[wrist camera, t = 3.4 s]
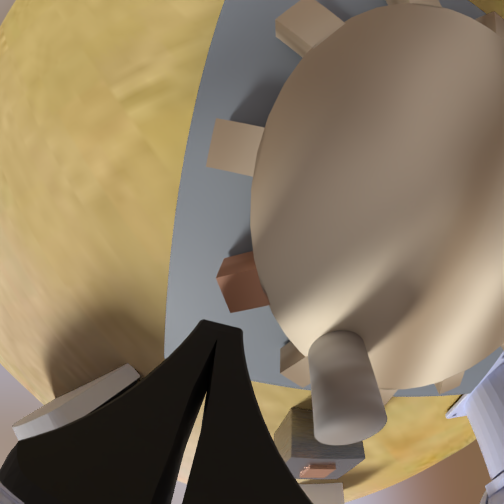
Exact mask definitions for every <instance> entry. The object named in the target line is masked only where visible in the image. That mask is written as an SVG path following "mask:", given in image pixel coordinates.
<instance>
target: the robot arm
mask: <svg viewBox="0 0 504 504" xmlns="http://www.w3.org/2000/svg"><path fill="white" fill-rule="evenodd" d="M206 391H207V392H206ZM205 394H206V399H205V406H204V413H203V420H202V427H201V433H200V437H199V441H198V444H197V448H196V452H195V456H194V460H193V464H192V468H191V471H190V475H189V479H188V483H187V487H186V491H185V495H184V498H183V502H182V504H313V503H312V502H311V500H310V499H309V498H308V496H307V495H306V494H305V492H304V491H303V490H302V488H301V487H300V485H299V484H298V483H297V481H296V479H295V478H294V476H293V475H292V473H291V471H290V470H289V468H288V467H287V465H286V463H285V462H284V460H283V458H282V457H281V455H280V453H279V451H278V449H277V447H276V445H275V443H274V441H273V439H272V437H271V435H270V433H269V431H268V428H267V426H266V424H265V422H264V419H263V417H262V414H261V411H260V409H259V406H258V403H257V400H256V397H255V394H254V391H253V387H252V384H251V380H250V376H249V372H248V368H247V363H246V357H245V351H244V343H243V331H242V329H241V328H238V327H233V326H229V325H225V324H221V323H217V322H213V321H209V320H205V319H202V320H200V321H199V323H198V324H197V325H196V327H195V328H194V329H193V331H192V332H191V333H190V334H189V335H188V337H187V338H186V339H185V340H184V341H183V342H182V343H181V344H180V345H179V346H178V347H177V348H176V349H175V350H174V351H173V352H172V353H171V354H170V355H169V356H168V357H167V358H166V359H165V360H164V361H163V362H162V363H161V364H160V365H159V366H158V367H156V368H155V369H154V370H153V371H152V372H151V373H149V374H148V375H147V376H146V377H145V378H143V379H142V380H141V381H140V382H138V383H137V384H136V385H134V386H133V387H132V388H130V389H129V390H127V391H126V392H124V393H123V394H122V395H120V396H119V397H117V398H115V399H114V400H112V401H111V402H109V403H107V404H106V405H104V406H102V407H101V408H99V409H97V410H95V411H93V412H92V413H90V414H88V415H86V416H83V417H81V418H79V419H77V420H75V421H73V422H71V423H68V424H66V425H64V426H62V427H59V428H57V429H54V430H51V431H48V432H45V433H42V434H39V435H36V436H32V437H29V438H26V439H22V440H20V441H18V443H17V444H16V446H15V447H14V448H13V449H12V450H11V452H10V453H9V455H8V456H7V458H6V460H5V462H4V464H3V465H2V467H1V469H0V504H171V500H172V497H173V493H174V489H175V485H176V481H177V477H178V473H179V469H180V465H181V461H182V458H183V454H184V451H185V448H186V444H187V442H188V439H189V436H190V434H191V431H192V428H193V426H194V423H195V421H196V418H197V415H198V413H199V410H200V407H201V405H202V402H203V399H204V397H205ZM466 415H467V417H468V419H469V422H470V424H471V426H472V429H473V431H474V433H475V436H476V438H477V441H478V443H479V446H480V449H481V451H482V454H483V457H484V459H485V463H486V465H487V468H488V471H489V475H490V478H491V480H493V481H491V482H490V483H488V484H487V485H486V486H485V487H486V492H485V493H484V495H483V496H482V499H481V502H480V504H504V351H503V352H502V354H501V355H500V357H499V358H498V359H497V361H496V362H495V364H494V365H493V366H492V368H491V369H490V370H489V371H488V373H487V374H486V375H485V377H484V378H483V379H482V380H481V381H480V383H479V384H478V385H477V386H476V387H475V389H474V390H473V391H472V392H471V393H470V394H464V395H463V396H462V397H461V398H460V399H459V400H458V401H457V402H456V403H455V404H454V406H453V407H452V408H451V409H450V410H449V411H448V412H447V413H446V415H445V416H446V418H454V417H461V416H466Z"/></svg>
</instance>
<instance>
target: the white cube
mask: <svg viewBox="0 0 504 504" xmlns="http://www.w3.org/2000/svg"><path fill="white" fill-rule="evenodd" d="M299 485H300V487H301V488H302V490H303V491H304V492H305V494H306V495H307V496H308V498H309V499H310V500H311V502H312V503H313V504H344V493H343V482H342V483H327V484H299Z"/></svg>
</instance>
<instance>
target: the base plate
mask: <svg viewBox="0 0 504 504" xmlns="http://www.w3.org/2000/svg"><path fill="white" fill-rule="evenodd" d="M299 1H300V0H225V1H224V4H223V7H222V10H221V13H220V16H219V19H218V22H217V25H216V28H215V32H214V35H213V38H212V42H211V45H210V48H209V52H208V56H207V59H206V63H205V67H204V70H203V74H202V78H201V82H200V86H199V90H198V94H197V99H196V103H195V107H194V112H193V117H192V121H191V126H190V131H189V136H188V141H187V146H186V151H185V157H184V162H183V168H182V174H181V180H180V186H179V193H178V200H177V207H176V214H175V221H174V229H173V238H172V247H171V256H170V266H169V277H168V290H167V304H166V321H165V346H164V358H165V359H166V358H167V357H168V356H169V355H170V354H171V353H172V352H173V351H174V350H175V349H176V348H177V347H178V346H179V345H180V344H181V343H182V342H183V341H184V340H185V339H186V338H187V337H188V335H189V334H190V333H191V332H192V331H193V329H194V328H195V327H196V325H197V324H198V323H199V321H200V320H202V319H205V320H209V321H213V322H217V323H221V324H225V325H229V326H233V327H238V328H241V329H242V331H243V343H244V351H245V357H246V363H247V368H248V372H249V376H250V380H251V381H256V382H261V383H267V384H272V385H278V386H284V387H291V388H297V389H305V390H311V383H310V384H309V385H307V386H305V387H303V388H302V387H300V386H299V385H297V384H296V383H294V382H293V381H291V380H289V379H288V378H286V377H285V376H283V375H282V374H280V348H282V347H283V346H285V345H286V344H288V343H289V342H290V339H289V338H288V337H287V336H286V335H285V333H284V332H283V330H282V328H281V327H280V325H279V323H278V322H277V320H276V319H275V317H274V315H273V314H272V311H271V309H270V307H269V305H268V306H263V307H258V308H254V309H249V310H244V311H239V312H234V313H230V311H229V309H228V306H227V304H226V302H225V299H224V297H223V294H222V292H221V290H220V287H219V285H218V282H217V280H216V276H217V274H218V271H219V269H220V267H221V264H222V262H223V259H224V258H227V257H231V256H235V255H239V254H243V253H247V252H251V251H253V246H252V237H251V228H250V213H251V187H252V180H253V177H252V176H247V175H243V174H238V173H234V172H229V171H225V170H220V169H215V168H210V167H206V163H207V158H208V153H209V148H210V143H211V139H212V134H213V129H214V125H215V120H216V118H218V119H224V120H229V121H235V122H240V123H245V124H250V125H254V126H259V127H264V128H265V125H266V122H267V119H268V116H269V114H270V112H271V110H272V108H273V106H274V104H275V102H276V99H277V97H278V95H279V93H280V91H281V89H282V87H283V85H284V83H285V82H286V80H287V79H288V78H289V76H290V75H291V73H292V72H293V71H294V69H295V68H296V66H297V65H298V64H299V62H300V61H301V59H302V57H301V56H300V55H299V54H297V53H296V52H295V51H294V50H292V49H291V48H290V47H289V46H287V45H286V44H285V43H283V42H282V41H281V40H280V39H278V38H277V37H276V31H275V19H276V18H278V17H279V16H280V15H281V14H283V13H284V12H285V11H287V10H288V9H289V8H291V7H292V6H293V5H295V4H296V3H297V2H299ZM316 1H317V2H319V3H320V4H321V5H323V6H324V7H325V8H327V9H328V10H329V11H331V12H332V13H333V14H335V15H336V16H337V17H338V18H340V19H341V20H342V21H343V22H345V21H347V20H348V19H350V18H352V17H354V16H356V15H359V14H361V13H364V12H366V11H369V10H372V9H374V8H377V7H383V6H388V4H387V2H386V0H316ZM439 2H440V4H441V6H442V7H443V8H447V9H451V10H453V11H456V12H459V13H461V14H464V15H466V16H468V17H471V18H472V19H474V20H475V19H476V18H479V17H481V16H484V15H486V13H484V12H483V11H482V10H480V9H479V8H478V7H477V6H475V5H474V4H472V3H471V2H470V1H468V0H439ZM503 351H504V350H503V349H502V347H501V346H500V347H499V348H498V349H496V350H495V351H494V352H493V353H491V354H490V355H489V356H487V357H486V358H485V359H483V360H482V361H480V362H479V363H477V364H476V365H474V366H473V367H471V368H469V369H467V370H465V372H464V375H463V378H462V381H461V384H460V386H458V387H456V388H454V389H451V390H449V391H447V392H445V393H442V394H440V395H439V393H438V391H437V389H436V387H435V384H430V385H426V386H422V387H417V388H410V389H398V390H397V392H396V393H395V394H394V395H393V396H397V397H416V396H444V395H459V394H470V393H471V392H472V391H473V390H474V389H475V387H476V386H477V385H478V384H479V383H480V381H481V380H482V379H483V378H484V377H485V375H486V374H487V373H488V371H489V370H490V369H491V368H492V366H493V365H494V364H495V362H496V361H497V359H498V358H499V357H500V355H501V354H502V352H503Z"/></svg>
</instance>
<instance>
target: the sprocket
mask: <svg viewBox="0 0 504 504" xmlns="http://www.w3.org/2000/svg"><path fill="white" fill-rule="evenodd" d="M386 2H387V4H388V6H383V7H377V8H374V9H372V10H369V11H366V12H364V13H361V14H359V15H356V16H354V17H352V18H350V19H348V20H347V21H345V22H343V21H342V20H341V19H340V18H338V17H337V16H336V15H335V14H333V13H332V12H331V11H329V10H328V9H327V8H325V7H324V6H323V5H321V4H320V3H319V2H317V1H316V0H300V1H299V2H297V3H296V4H295V5H293V6H292V7H291V8H289V9H288V10H287V11H285V12H284V13H283V14H281V15H280V16H279V17H278V18H276V19H275V31H276V37H277V38H278V39H280V40H281V41H282V42H283V43H285V44H286V45H287V46H289V47H290V48H291V49H292V50H294V51H295V52H296V53H297V54H299V55H300V56H301V57H302V59H301V61H300V62H299V64H298V65H297V66H296V68H295V69H294V71H293V72H292V73H291V75H290V76H289V78H288V79H287V80H286V82H285V83H284V85H283V87H282V89H281V91H280V93H279V95H278V97H277V99H276V102H275V104H274V106H273V108H272V110H271V112H270V114H269V116H268V119H267V122H266V125H265V128H264V127H259V126H254V125H250V124H245V123H240V122H235V121H229V120H224V119H218V118H216V120H215V125H214V129H213V134H212V139H211V143H210V148H209V153H208V158H207V163H206V167H210V168H215V169H220V170H225V171H229V172H234V173H238V174H243V175H247V176H252V177H253V180H252V187H251V213H250V228H251V237H252V246H253V251H251V252H247V253H243V254H239V255H235V256H231V257H227V258H224V259H223V262H222V264H221V267H220V269H219V271H218V274H217V276H216V280H217V282H218V285H219V287H220V290H221V292H222V294H223V297H224V299H225V302H226V304H227V306H228V309H229V311H230V313H234V312H239V311H244V310H249V309H254V308H258V307H263V306H268V305H269V307H270V309H271V311H272V314H273V315H274V317H275V319H276V320H277V322H278V323H279V325H280V327H281V328H282V330H283V332H284V333H285V335H286V336H287V337H288V338H289V339H290V342H289V343H288V344H286V345H285V346H283V347H282V348H280V374H282V375H283V376H285V377H286V378H288V379H289V380H291V381H293V382H294V383H296V384H297V385H299V386H300V387H302V388H303V387H305V386H307V385H309V384H310V383H311V395H312V408H313V421H314V436H315V438H316V439H317V440H318V441H319V442H321V443H323V444H327V445H347V444H352V443H356V442H359V441H362V440H365V439H367V438H369V437H371V436H373V435H375V434H376V433H377V432H379V431H380V430H381V429H382V428H383V427H384V426H385V424H386V422H387V415H386V412H385V408H384V406H385V404H386V403H387V402H388V401H389V400H390V399H391V398H392V396H393V395H394V394H395V393H396V392H397V390H398V389H410V388H417V387H422V386H426V385H430V384H435V387H436V389H437V391H438V393H439V395H440V394H442V393H445V392H447V391H449V390H451V389H454V388H456V387H458V386H460V384H461V381H462V378H463V375H464V372H465V370H467V369H469V368H471V367H473V366H474V365H476V364H477V363H479V362H480V361H482V360H483V359H485V358H486V357H487V356H489V355H490V354H491V353H493V352H494V351H495V350H496V349H498V348H499V347H500V346H501V347H502V349H503V350H504V19H503V18H501V17H500V16H499V15H498V14H497V13H496V12H495V11H494V12H491V13H488V14H486V15H484V16H481V17H479V18H476V19H475V20H474V19H472V18H471V17H468V16H466V15H464V14H461V13H459V12H456V11H453V10H451V9H447V8H443V7H442V6H441V4H440V2H439V0H386Z"/></svg>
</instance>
